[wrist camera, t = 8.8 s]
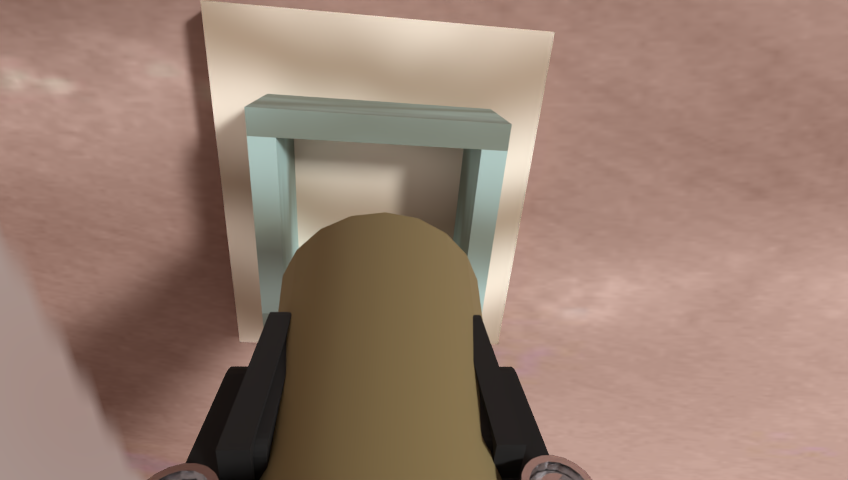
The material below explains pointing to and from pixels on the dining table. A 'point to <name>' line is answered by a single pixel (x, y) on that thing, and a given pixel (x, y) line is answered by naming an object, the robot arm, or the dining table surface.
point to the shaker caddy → (369, 136)
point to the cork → (380, 357)
